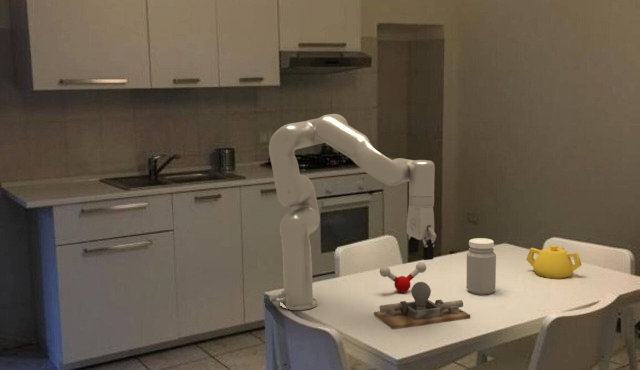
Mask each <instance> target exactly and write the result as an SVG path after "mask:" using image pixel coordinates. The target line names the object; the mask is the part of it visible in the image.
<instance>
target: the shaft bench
mask: <svg viewBox="0 0 640 370" xmlns="http://www.w3.org/2000/svg"><path fill="white" fill-rule="evenodd" d="M434 301H435V302H433V301H432V300H430V299H428V300H427V302H426V306H425V310H417V306H416V303H415V300H414V301H406V300H401V301H400V302H397V303H390V304H381V305H379V311H377V310H376V311H374V313H373V315H374V316H375V317H376V318H378V319H379V320H380V321H382V322H383V323H384V324H386V325H387V326H388V327H390V328H391V329H392V330H395V329H396V330H397V329H403V328H409V327H416V326H424V325H431V324H436V323H437V324H438V323H446V322H452V321H453V322H454V321H459V320H466V319H471V314H469V313H468V312H466V311H465V310H462V309H460V308H463V307H464V301H463V300H462V299H459V300H451V301H443V300H442V299H436V300H434Z"/></svg>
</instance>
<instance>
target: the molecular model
mask: <svg viewBox="0 0 640 370" xmlns="http://www.w3.org/2000/svg"><path fill="white" fill-rule="evenodd" d="M426 271H427V265H426V264H425V263H424V262H421V261H420V262H417V264H415V269H414V270H413V271H411V273H409V274H408V275H407V276H404V275H401V276H397V275H395V274H394V273H392V272H391V269H390V268H389V267H388V266H386V265H384V266H381V267H380V269H379V275H380V276H382V277H383V278H386V277H387V278H388V279H390V280H391V281H392V282H394V283H393V284H394V288H395V290H396V291H398V292H400V293H406V292H408V290H410V288H411V281H412V280H413V279H414V278H415V277H416V276H417V275H419V274H423V273H424V272H426Z"/></svg>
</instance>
